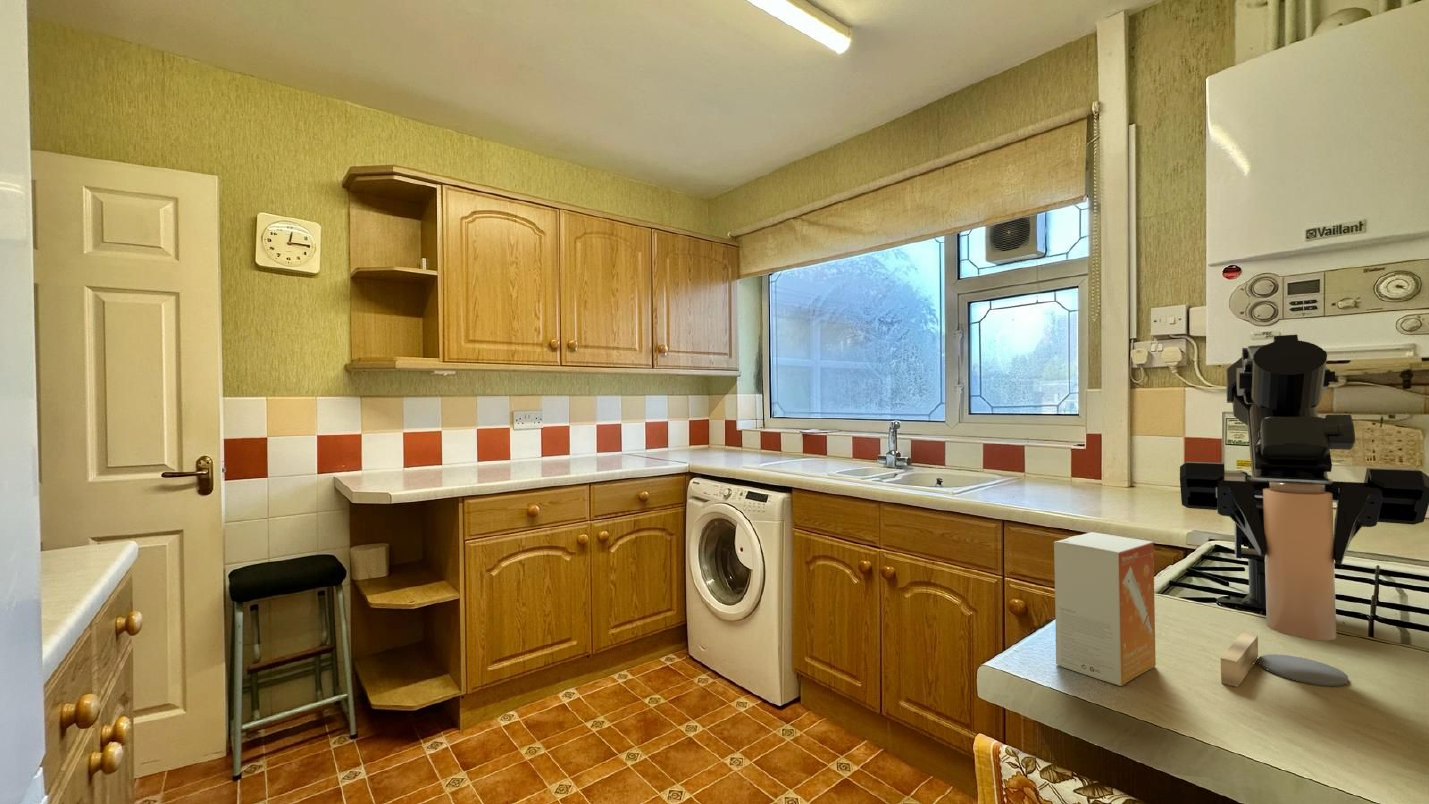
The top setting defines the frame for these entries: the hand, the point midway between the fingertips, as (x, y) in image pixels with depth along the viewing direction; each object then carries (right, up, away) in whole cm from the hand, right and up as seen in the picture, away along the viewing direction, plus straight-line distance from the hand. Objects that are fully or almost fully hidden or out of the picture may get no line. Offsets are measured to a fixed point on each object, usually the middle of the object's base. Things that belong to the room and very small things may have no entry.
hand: (1299, 558), depth 59 cm
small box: (-17, -12, +3) cm, 21 cm away
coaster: (+1, -12, +1) cm, 12 cm away
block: (-5, -12, +1) cm, 13 cm away
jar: (+1, -8, +1) cm, 8 cm away
